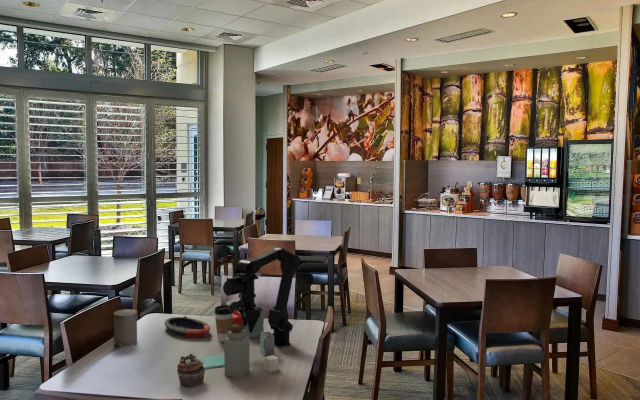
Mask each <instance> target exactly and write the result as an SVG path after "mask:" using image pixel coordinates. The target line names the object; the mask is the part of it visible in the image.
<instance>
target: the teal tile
mask: <svg viewBox="0 0 640 400" xmlns="http://www.w3.org/2000/svg"><path fill="white" fill-rule="evenodd" d="M197 358H198V359H199V360H201V361H202V362H203V365H202V366H203V367H205V370H207V369H208V370H209V369H214V368H221V367H225V364H224V354H219V355H210V356H203V357H197Z"/></svg>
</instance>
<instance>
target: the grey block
mask: <svg viewBox="0 0 640 400" xmlns="http://www.w3.org/2000/svg"><path fill="white" fill-rule="evenodd" d="M274 355H275V354H274ZM274 355H271V356H267V357H264V356H263V357H264V358H263V363H264V364H263V365H264V366H263V367H264V368H263V369H264V370H266V371H267V372H269V373H271V372H275V371H278V370H280V362H279V361H280V358H279V357H278V356H276V355H275V356H274Z"/></svg>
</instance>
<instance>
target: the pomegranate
mask: <svg viewBox="0 0 640 400" xmlns="http://www.w3.org/2000/svg"><path fill="white" fill-rule="evenodd" d="M234 324H241V325H243V326H242V329H243V328H244V324H243V320H242V316H241V313H240V312H239V311H238V310H237V309H236V310H234V311H233V321H232V325H234Z"/></svg>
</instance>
